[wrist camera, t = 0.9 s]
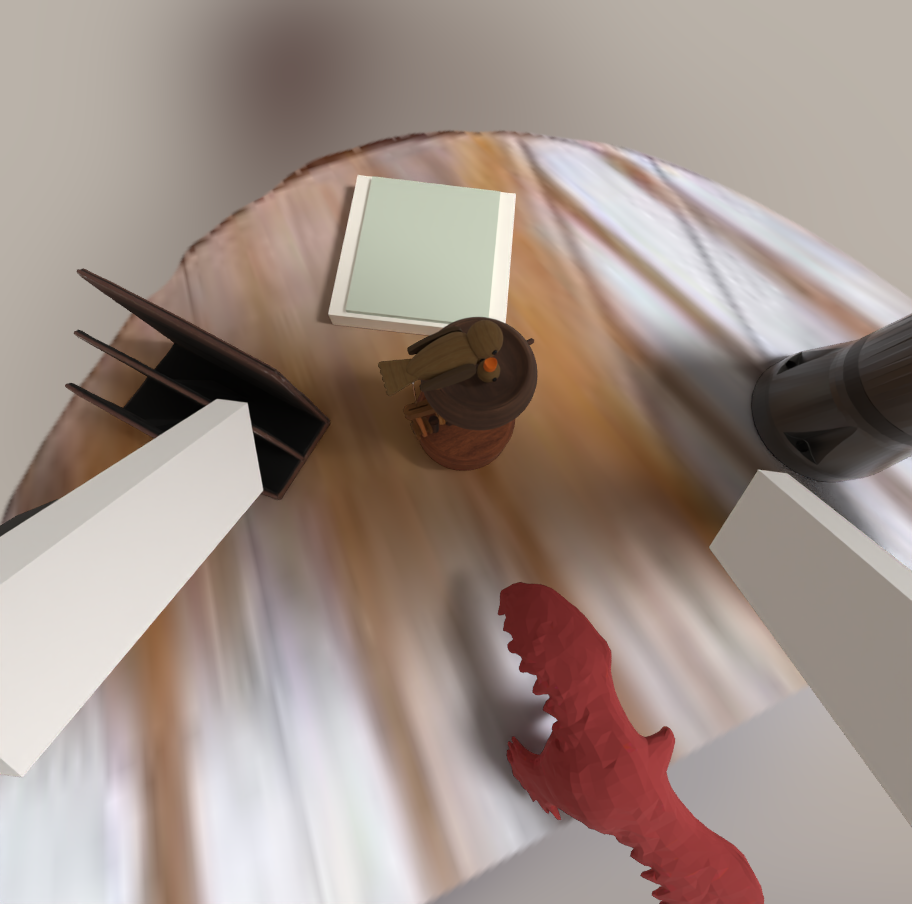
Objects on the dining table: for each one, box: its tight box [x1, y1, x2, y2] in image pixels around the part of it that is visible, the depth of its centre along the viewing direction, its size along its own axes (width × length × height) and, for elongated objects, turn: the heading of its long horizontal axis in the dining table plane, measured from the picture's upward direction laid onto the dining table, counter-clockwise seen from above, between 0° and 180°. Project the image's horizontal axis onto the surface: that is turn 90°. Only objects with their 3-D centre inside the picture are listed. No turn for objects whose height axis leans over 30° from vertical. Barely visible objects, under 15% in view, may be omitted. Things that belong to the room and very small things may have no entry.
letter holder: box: [65, 269, 330, 500], centre depth 34 cm, size 10×20×14 cm, turn 62°
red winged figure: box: [498, 582, 764, 904], centre depth 31 cm, size 28×9×15 cm
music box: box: [378, 317, 537, 470], centre depth 33 cm, size 15×11×20 cm
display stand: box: [328, 175, 516, 336], centre depth 45 cm, size 20×20×2 cm
